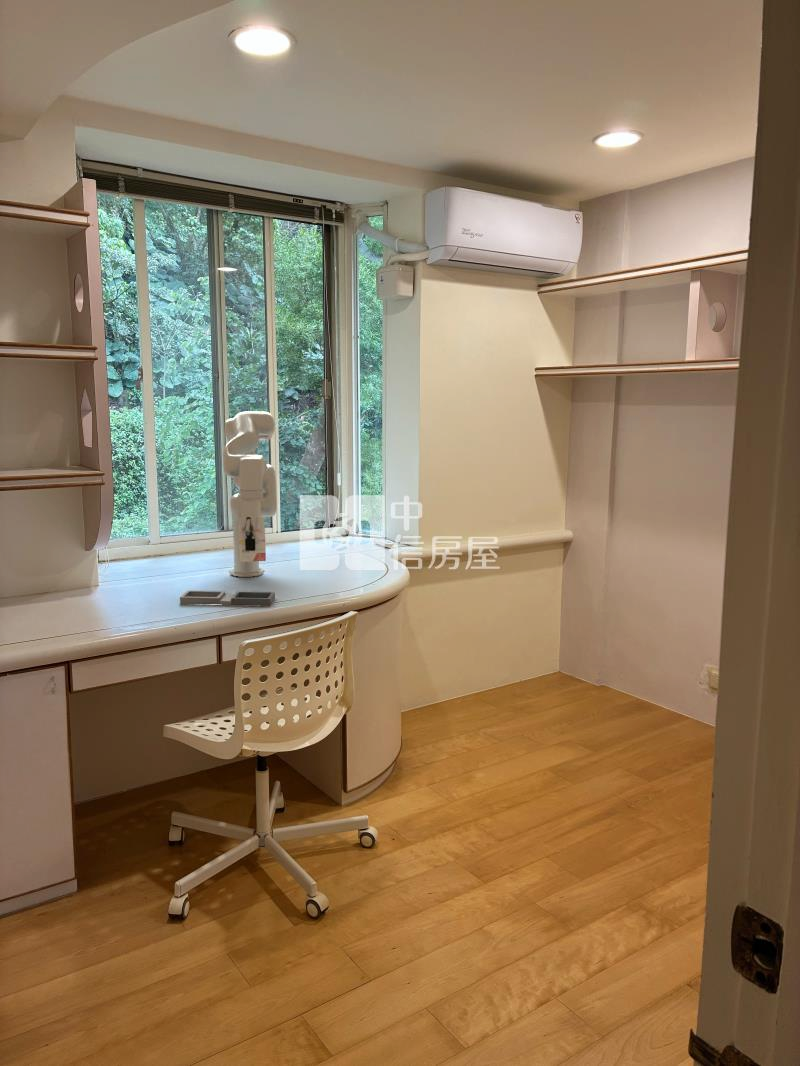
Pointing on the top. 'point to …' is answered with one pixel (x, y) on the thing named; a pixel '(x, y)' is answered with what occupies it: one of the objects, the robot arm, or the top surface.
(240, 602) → the grey tray
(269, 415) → the robot arm
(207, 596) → the brown rectangular tray
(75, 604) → the top surface
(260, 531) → the ink cartridge box
